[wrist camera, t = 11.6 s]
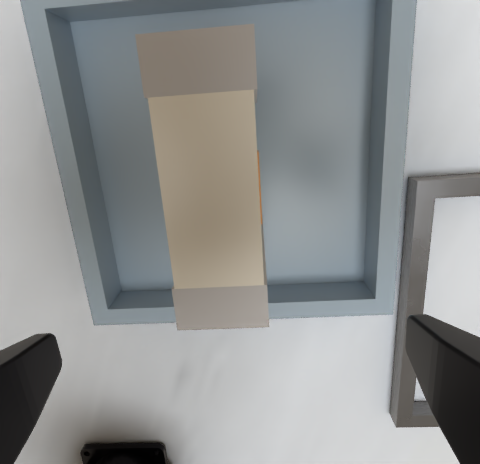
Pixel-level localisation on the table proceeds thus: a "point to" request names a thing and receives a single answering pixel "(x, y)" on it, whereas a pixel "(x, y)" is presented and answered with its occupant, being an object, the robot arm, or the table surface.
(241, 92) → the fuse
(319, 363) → the table surface
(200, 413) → the table surface
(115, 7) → the tray
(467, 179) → the holder frame
